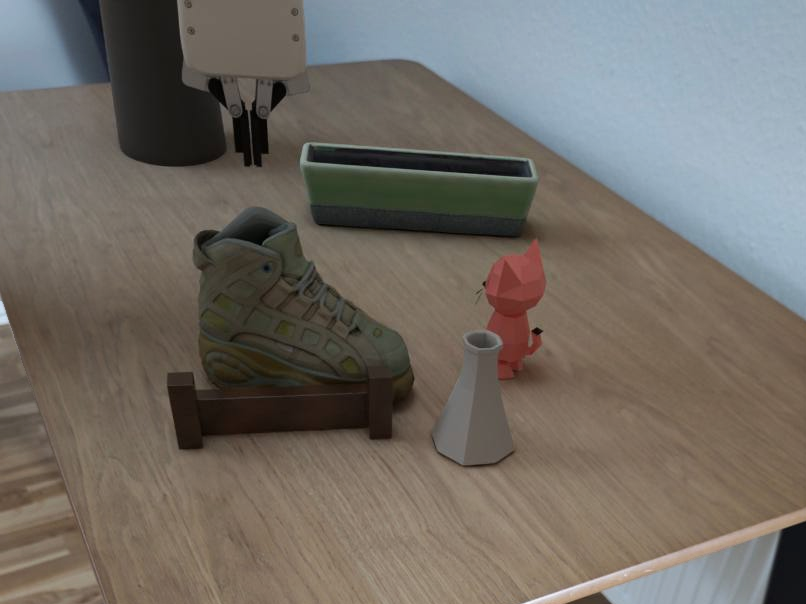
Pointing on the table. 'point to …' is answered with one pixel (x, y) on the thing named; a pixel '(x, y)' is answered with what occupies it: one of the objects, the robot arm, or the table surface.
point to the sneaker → (282, 314)
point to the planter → (417, 189)
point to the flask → (475, 407)
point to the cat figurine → (515, 306)
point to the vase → (157, 87)
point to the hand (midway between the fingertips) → (252, 160)
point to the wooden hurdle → (280, 407)
